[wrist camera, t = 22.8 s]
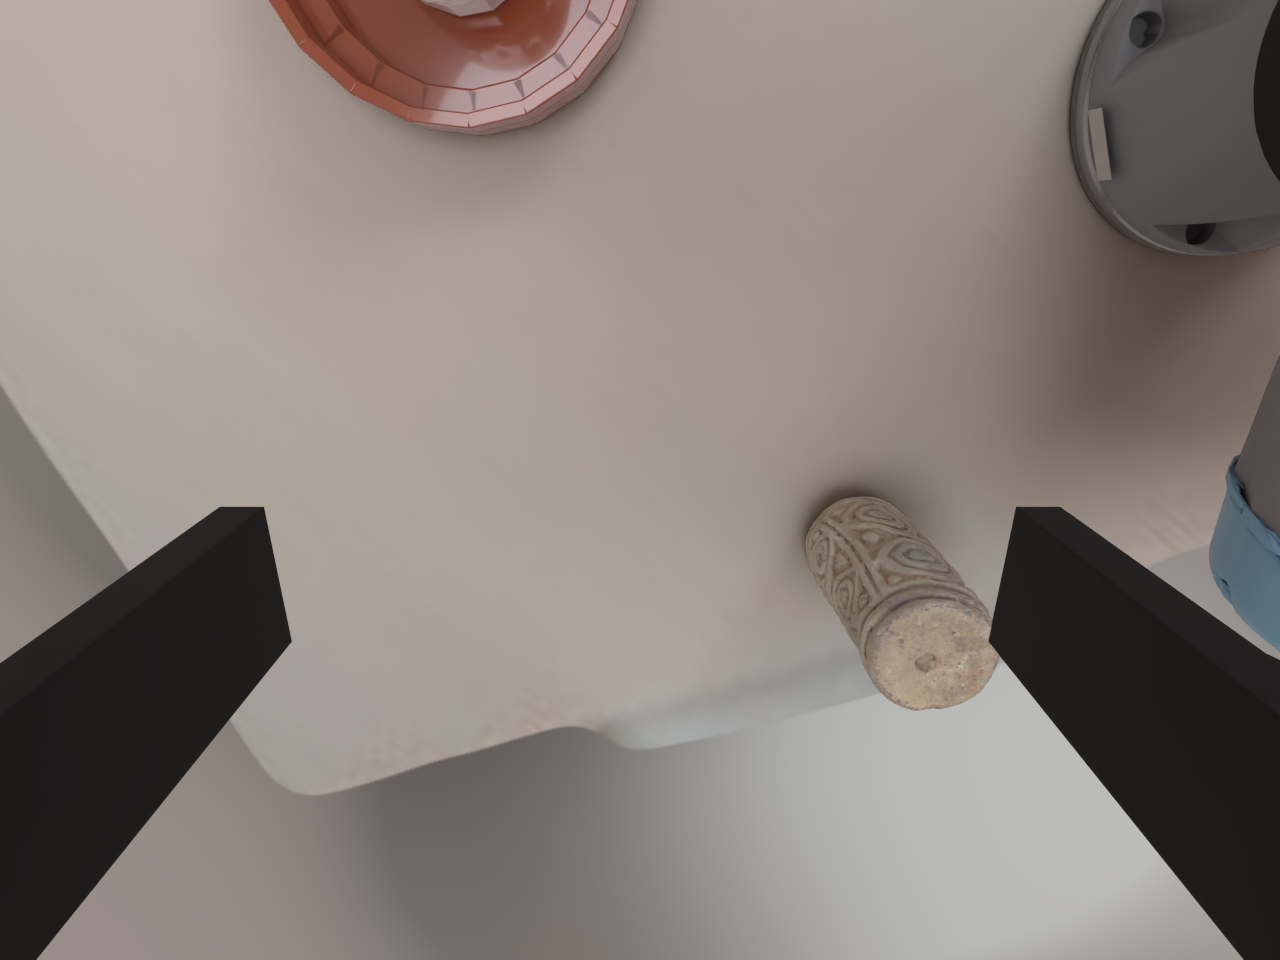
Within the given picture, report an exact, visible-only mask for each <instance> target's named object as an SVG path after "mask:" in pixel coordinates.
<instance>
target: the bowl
mask: <svg viewBox="0 0 1280 960" xmlns="http://www.w3.org/2000/svg"><path fill="white" fill-rule="evenodd" d="M269 1H270V3H271V5H272V6H273V8H274V9H275V11H276V12H277V14H278V15H279V17H280V18H281V20H282V21H283V23H284V25H285V26H286V28H287V29H288V31H289V32H290V34H291V35H292V37H293V38H294V40H295V41H296V43H297V45H298V46H299V47H300V48H301V49H302V50H303V51H304V52H305V53H306V54H307V55H308V56H309V57H311V58H312V59H313V60H314V61H315V62H316V63H317V64H318V65H319V66H321V67H322V68H323V69H324V70H325V71H326V72H327V73H328V74H329V75H331V76H332V77H333V78H334V79H335V80H336V81H337V82H338V83H339V84H341V85H342V86H343V87H344V88H345V89H346V90H347V91H348V92H349V93H352V94H353V95H354V96H356V97H358V98H361V99H363V100H365V101H367V102H369V103H371V104H373V105H375V106H377V107H380V108H382V109H384V110H386V111H388V112H390V113H392V114H394V115H396V116H399V117H401V118H403V119H405V120H407V121H410V122H412V123H415V124H418V125H420V126H423V127H426V128H428V129H432V130H440V131H448V132H457V133H465V134H474V135H482V136H483V135H490V134H494V133H499V132H503V131H507V130H511V129H515V128H520V127H524V126H528V125H532V124H536V123H537V122H540V121H541V120H543V119H544V118H546V117H547V116H549V115H550V114H552V113H553V112H555V111H556V110H558V109H559V108H561V107H562V106H564V105H566V104H567V103H569V102H570V101H572V100H573V99H575V98H576V97H578V96H579V95H581V94H582V93H583V92H584V91H585V90H586V89H587V88H588V86H589V85H590V84H591V82H592V81H593V80H594V78H595V77H596V76H597V75H598V73H599V72H600V71H601V69H602V68H603V67H604V66H605V64H606V63H607V62H608V60H609V59H610V58H611V57H612V55H613V54H614V53H615V51H616V50H617V49H618V47H619V44H621V42H622V39H623V36H624V34H625V31H626V28H627V26H628V23H629V21H630V18H631V15H632V13H633V10H634V7H635V5H636V2H637V0H505V1H504V2H502V3H501V4H500V5H499V6H498V7H497V8H495V9H494V10H493V11H488V12H482V13H477V14H472V15H466V16H461V17H460V16H457V15H454V14H451V13H448V12H445V11H442V10H439V9H436V8H433V7H430V6H427V5H426V4H424V3H423V2H422V1H420V0H269Z"/></svg>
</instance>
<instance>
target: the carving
mask: <svg viewBox="0 0 1280 960" xmlns="http://www.w3.org/2000/svg"><path fill="white" fill-rule="evenodd" d="M805 545H806V555H807V560H808V564H809V567H810V570H811V572H812V574H813V576H814V578H815V580H816V582H817V584H818V586H819V587H820V588H822V589H823V595H824V597H825V598H826V599H827V600H828V602H829V604H830V605H831V606H832V607H833V608H834V610H835V612H836V614H837V615H838V616H839V618H840V620H841V622H842V624H843V626H844V628H845V630H846V632H847V633H848V635H849V637H850V638H851V640H852V641H853V643H854V644H855V645H856V647H857V648H858V650H859V652H860V655H861V659H862V663H863V665H864V668H865V670H866V671H867V673H868V675H869V676H870V678H871V680H872V682H873V684H874V685H875V686H876V688H877V689H878V690H879V691H880V692H881V693H882V694H883V695H884V696H885V697H886V698H887V699H889V700H890V701H892V702H893V703H895V704H897V705H899V706H901V707H904V708H907V709H910V710H915V711H918V710H924V709H942V708H947V707H950V706H954V705H957V704H960V703H963V702H965V701H967V700H968V699H970V698H972V697H974V696H975V695H976V694H978V693H979V692H980V691H981V690H982V689H983V688H984V686H985V685H986V684H987V682H988V681H989V679H990V678H991V676H992V674H993V672H994V670H995V668H996V666H997V663H998V660H999V654H998V653H997V652H996V650H995V649H994V648H993V647H992V646H991V644H990V643H989V642H988V640H989V636H990V631H991V626H992V619H991V617H990V616H989V613H988V610H987V609H986V607H985V605H984V604H983V603H982V601H981V600H980V599H979V598H978V597H977V595H976V594H975V593H974V592H973V591H972V590H971V589H969V588H966V587H965V583H964V581H963V579H962V578H961V576H960V575H959V574H958V572H957V571H956V570H955V569H954V568H953V567H951V566H950V565H949V564H948V563H947V562H946V560H945V559H944V558H943V557H942V555H941V554H940V553H939V551H938V550H937V549H936V548H935V547H934V546H933V545H932V544H931V543H930V542H929V541H928V540H927V539H926V538H925V537H924V536H923V535H922V534H921V533H920V532H919V530H918V529H917V528H916V527H915V525H914V524H913V523H912V522H911V521H910V520H909V519H908V518H907V517H906V516H905V515H904V514H903V513H902V512H900V511H899V510H898V509H896V508H895V507H894V506H893V505H891V504H890V503H888V502H886V501H884V500H882V499H879V498H875V497H868V496H861V497H850V498H844V499H841V500H839V501H837V502H836V503H834V504H832V505H831V506H829V507H828V508H827V509H825V510H824V511H823V512H822V513H821V514H820V515H819V516H818V517H817V519H816V520H815V521H814V523H813V524H812V526H811V527H810V529H809V531H808V534H807V536H806V543H805Z"/></svg>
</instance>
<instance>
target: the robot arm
mask: <svg viewBox="0 0 1280 960" xmlns="http://www.w3.org/2000/svg"><path fill="white" fill-rule="evenodd" d="M1070 127H1071V142H1072V149H1073V155H1074V160H1075V163H1076V167H1077V171H1078V174H1079V177H1080V179H1081V182H1082V184H1083V187H1084V189H1085V191H1086V193H1087V194H1088V196H1089V198H1090V200H1091V201H1092V203H1093V204H1094V206H1095V207H1096V209H1097V210H1098V211H1099V213H1100V214H1101V215H1102V216H1103V217H1104V218H1105V219H1106V221H1107V222H1109V223H1110V224H1111V225H1112V226H1113V227H1114V228H1115V229H1116V230H1118V231H1119V232H1121V233H1122V234H1124V235H1125V236H1126V237H1128V238H1130V239H1132V240H1134V241H1135V242H1137V243H1139V244H1142V245H1144V246H1147V247H1150V248H1152V249H1156V250H1160V251H1164V252H1169V253H1177V254H1187V255H1198V256H1220V255H1231V254H1238V253H1247V252H1253V251H1258V250H1263V249H1266V248H1270V247H1274V246H1277V245H1280V0H1107V2H1106V4H1105V6H1104V7H1103V9H1102V11H1101V13H1100V14H1099V16H1098V18H1097V20H1096V22H1095V24H1094V26H1093V29H1092V31H1091V33H1090V35H1089V37H1088V40H1087V43H1086V45H1085V48H1084V50H1083V53H1082V56H1081V60H1080V63H1079V66H1078V70H1077V74H1076V79H1075V83H1074V88H1073V95H1072V103H1071V122H1070ZM1226 483H1227V492H1226V495H1225V498H1224V501H1223V505H1222V508H1221V511H1220V514H1219V518H1218V521H1217V524H1216V527H1215V531H1214V534H1213V537H1212V540H1211V543H1210V550H1209V561H1210V568H1211V572H1212V575H1213V578H1214V580H1215V582H1216V584H1217V585H1218V587H1219V589H1220V590H1221V592H1222V594H1223V596H1224V597H1225V598H1226V599H1227V600H1228V601H1229V602H1230V603H1231V604H1232V605H1233V607H1234V609H1235V611H1236V613H1237V614H1238V615H1239V616H1240V617H1241V618H1242V620H1243V621H1244V622H1245V623H1246V624H1247V625H1248V626H1249V627H1251V629H1253V630H1254V631H1255V632H1256V633H1257V634H1258V635H1260V636H1261V637H1262V638H1263V639H1264V640H1265V641H1267V642H1268V643H1269V644H1270V645H1271V646H1273V647H1274V648H1275V649H1277V650H1278V651H1279V652H1280V355H1279V357H1278V360H1277V363H1276V365H1275V368H1274V370H1273V373H1272V375H1271V378H1270V380H1269V383H1268V386H1267V388H1266V391H1265V393H1264V396H1263V398H1262V401H1261V403H1260V406H1259V408H1258V411H1257V414H1256V416H1255V419H1254V421H1253V424H1252V426H1251V429H1250V431H1249V434H1248V437H1247V439H1246V442H1245V444H1244V447H1243V449H1242V452H1241V454H1240V455H1238V456H1235V457H1234V458H1233V460H1232V461H1231V463H1230V465H1229V467H1228V470H1227V474H1226ZM291 642H292V640H291V636H290V631H289V626H288V621H287V616H286V611H285V607H284V602H283V597H282V592H281V587H280V583H279V578H278V573H277V568H276V563H275V558H274V554H273V549H272V544H271V539H270V534H269V529H268V525H267V520H266V515H265V510H264V507H219V508H218V509H216V510H215V511H214V512H212V513H211V514H209V515H208V516H206V517H205V518H204V519H202V520H201V521H199V522H198V523H197V524H195V525H194V526H192V527H191V528H190V529H188V530H187V531H185V532H184V533H183V534H181V535H180V536H178V537H177V538H176V539H174V540H173V541H171V542H170V543H169V544H167V545H166V546H164V547H163V548H162V549H160V550H159V551H157V552H156V553H155V554H153V555H152V556H150V557H149V558H148V559H146V560H145V561H143V562H142V563H140V564H139V565H138V566H136V567H135V568H133V569H132V570H131V571H129V572H128V573H126V574H125V575H124V576H122V577H121V578H119V579H118V580H117V581H115V582H114V583H112V584H111V585H110V586H108V587H107V588H105V589H104V590H103V591H101V592H100V593H98V594H97V595H96V596H94V597H93V598H91V599H90V600H89V601H87V602H86V603H84V604H83V605H81V606H80V607H79V608H77V609H76V610H74V611H73V612H72V613H70V614H69V615H68V616H66V617H65V618H63V619H62V620H60V621H59V622H58V623H56V624H55V625H53V626H52V627H51V628H49V629H48V630H46V631H45V632H44V633H42V634H41V635H39V636H38V637H37V638H35V639H34V640H32V641H31V642H30V643H28V644H27V645H25V646H24V647H23V648H21V649H20V650H18V651H17V652H15V653H14V654H13V655H11V656H10V657H8V658H7V659H6V660H4V661H3V662H1V663H0V960H36V959H37V958H38V957H39V955H40V954H41V953H42V952H43V951H44V949H45V948H46V947H47V946H48V944H49V943H50V942H51V941H52V939H53V938H54V937H55V936H56V934H57V933H58V932H59V931H60V929H61V928H62V927H63V926H64V924H65V923H66V922H67V921H68V919H69V918H70V917H71V916H72V914H73V913H74V912H75V911H76V910H77V908H78V907H79V906H80V904H81V903H82V902H83V901H84V900H85V898H86V897H87V896H88V894H89V893H90V892H91V891H92V890H93V888H94V887H95V886H96V885H97V883H98V882H99V881H100V879H101V878H102V877H103V876H104V875H105V873H106V872H107V871H108V870H109V868H110V867H111V866H112V865H113V863H114V862H115V861H116V860H117V858H118V857H119V856H120V855H121V853H122V852H123V851H124V850H125V848H126V847H127V846H128V845H129V843H130V842H131V841H132V840H133V838H134V837H135V836H136V835H137V833H138V832H139V831H140V830H141V829H142V827H143V826H144V825H145V824H146V822H147V821H148V820H149V819H150V817H151V816H152V815H153V814H154V812H155V811H156V810H157V809H158V807H159V806H160V805H161V804H162V802H163V801H164V800H165V799H166V797H167V796H168V795H169V794H170V792H171V791H172V790H173V789H174V787H175V786H176V785H177V784H178V782H179V781H180V780H181V779H182V777H183V776H184V775H185V774H186V773H187V771H188V770H189V769H190V768H191V766H192V765H193V764H194V763H195V761H196V760H197V759H198V758H199V756H200V755H201V754H202V753H203V751H204V750H205V749H206V748H207V746H208V745H209V744H210V743H211V741H212V740H213V739H214V738H215V736H216V735H217V734H218V733H219V731H220V730H221V729H222V728H223V726H224V725H225V724H226V723H227V721H228V720H229V719H230V718H231V716H232V715H233V714H234V713H235V712H236V710H237V709H238V708H239V707H240V705H241V704H242V703H243V702H244V700H245V699H246V698H247V697H248V695H249V694H250V693H251V692H252V690H253V689H254V688H255V687H256V685H257V684H258V683H259V682H260V680H261V679H262V678H263V677H264V675H265V674H266V673H267V672H268V670H269V669H270V668H271V667H272V665H273V664H274V663H275V662H276V660H277V659H278V658H279V657H280V655H281V654H282V653H283V652H284V650H285V649H286V648H287V647H288V646H289V644H290V643H291ZM988 642H989V643H990V644H991V646H992V647H993V648H994V649H995V650H996V652H997V653H998V654H999V655H1000V657H1001V658H1002V659H1003V660H1004V662H1005V663H1006V664H1007V665H1008V667H1009V668H1010V669H1011V670H1012V672H1013V673H1014V674H1015V675H1016V677H1017V678H1018V679H1019V680H1020V682H1021V683H1022V684H1023V685H1024V687H1025V688H1026V689H1027V690H1028V692H1029V693H1030V694H1031V695H1032V697H1033V698H1034V699H1035V700H1036V702H1037V703H1038V704H1039V705H1040V707H1041V708H1042V709H1043V710H1044V712H1045V713H1046V714H1047V715H1048V716H1049V718H1050V719H1051V720H1052V721H1053V723H1054V724H1055V725H1056V726H1057V728H1058V729H1059V730H1060V731H1061V733H1062V734H1063V735H1064V736H1065V738H1066V739H1067V740H1068V741H1069V743H1070V744H1071V745H1072V746H1073V748H1074V749H1075V750H1076V751H1077V753H1078V754H1079V755H1080V756H1081V758H1082V759H1083V760H1084V761H1085V763H1086V764H1087V765H1088V766H1089V767H1090V769H1091V770H1092V771H1093V773H1094V774H1095V775H1096V776H1097V777H1098V779H1099V780H1100V781H1101V782H1102V784H1103V785H1104V786H1105V787H1106V789H1107V790H1108V791H1109V792H1110V794H1111V795H1112V796H1113V797H1114V799H1115V800H1116V801H1117V802H1118V804H1119V805H1120V806H1121V807H1122V809H1123V810H1124V811H1125V812H1126V814H1127V815H1128V816H1129V817H1130V819H1131V820H1132V821H1133V822H1134V824H1135V825H1136V826H1137V827H1138V828H1139V830H1140V831H1141V832H1142V834H1143V835H1144V836H1145V837H1146V839H1147V840H1148V841H1149V842H1150V843H1151V845H1152V846H1153V847H1154V848H1155V850H1156V851H1157V852H1158V853H1159V855H1160V856H1161V857H1162V858H1163V860H1164V861H1165V862H1166V863H1167V865H1168V866H1169V867H1170V868H1171V870H1172V871H1173V872H1174V873H1175V875H1176V876H1177V877H1178V878H1179V880H1180V881H1181V882H1182V883H1183V885H1184V886H1185V887H1186V888H1187V890H1188V891H1189V892H1190V893H1191V895H1192V896H1193V897H1194V898H1195V900H1196V901H1197V902H1198V903H1199V905H1200V906H1201V907H1202V908H1203V910H1204V911H1205V912H1206V913H1207V914H1208V916H1209V917H1210V918H1211V919H1212V921H1213V922H1214V923H1215V924H1216V926H1217V927H1218V928H1219V929H1220V931H1221V932H1222V933H1223V934H1224V936H1225V937H1226V938H1227V939H1228V941H1229V942H1230V943H1231V944H1232V946H1233V947H1234V948H1235V949H1236V951H1237V952H1238V953H1239V954H1240V956H1241V957H1242V958H1243V959H1244V960H1280V660H1278V659H1276V658H1274V657H1272V656H1270V655H1268V654H1266V653H1264V652H1263V651H1262V650H1260V649H1259V648H1257V647H1256V646H1255V645H1253V644H1252V643H1250V642H1249V641H1248V640H1246V639H1245V638H1243V637H1242V636H1241V635H1239V634H1238V633H1236V632H1235V631H1234V630H1232V629H1231V628H1229V627H1228V626H1227V625H1225V624H1224V623H1222V622H1221V621H1220V620H1218V619H1217V618H1215V617H1214V616H1213V615H1211V614H1210V613H1208V612H1207V611H1206V610H1204V609H1203V608H1201V607H1200V606H1198V605H1197V604H1196V603H1194V602H1193V601H1191V600H1190V599H1189V598H1187V597H1186V596H1184V595H1183V594H1182V593H1180V592H1179V591H1177V590H1176V589H1175V588H1173V587H1172V586H1170V585H1169V584H1168V583H1166V582H1165V581H1163V580H1162V579H1161V578H1159V577H1158V576H1156V575H1155V574H1154V573H1152V572H1151V571H1149V570H1148V569H1147V568H1145V567H1144V566H1142V565H1141V564H1140V563H1138V562H1137V561H1135V560H1134V559H1132V558H1131V557H1130V556H1128V555H1127V554H1125V553H1124V552H1123V551H1121V550H1120V549H1118V548H1117V547H1116V546H1114V545H1113V544H1111V543H1110V542H1109V541H1107V540H1106V539H1104V538H1103V537H1102V536H1100V535H1099V534H1097V533H1096V532H1095V531H1093V530H1092V529H1090V528H1089V527H1088V526H1086V525H1085V524H1083V523H1082V522H1081V521H1079V520H1078V519H1076V518H1075V517H1074V516H1072V515H1071V514H1069V513H1068V512H1066V511H1065V510H1064V509H1062V508H1061V507H1016V510H1015V515H1014V520H1013V525H1012V529H1011V534H1010V539H1009V544H1008V549H1007V554H1006V558H1005V563H1004V568H1003V573H1002V578H1001V583H1000V587H999V592H998V597H997V602H996V607H995V611H994V616H993V621H992V626H991V631H990V636H989V640H988Z"/></svg>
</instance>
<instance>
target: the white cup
mask: <svg viewBox="0 0 1280 960" xmlns="http://www.w3.org/2000/svg"><path fill="white" fill-rule="evenodd" d="M420 1H422V2H423V3H424V4H426V5H427V6H430V7H433V8H436V9H439V10H442V11H445V12H448V13H451V14H454V15H457V16H460V17H461V16H466V15H472V14H477V13H482V12H488V11H493V10H494V9H495V8H497V7H498V6H499V5H500V4H501V3H502V2H504V1H505V0H420Z"/></svg>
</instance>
